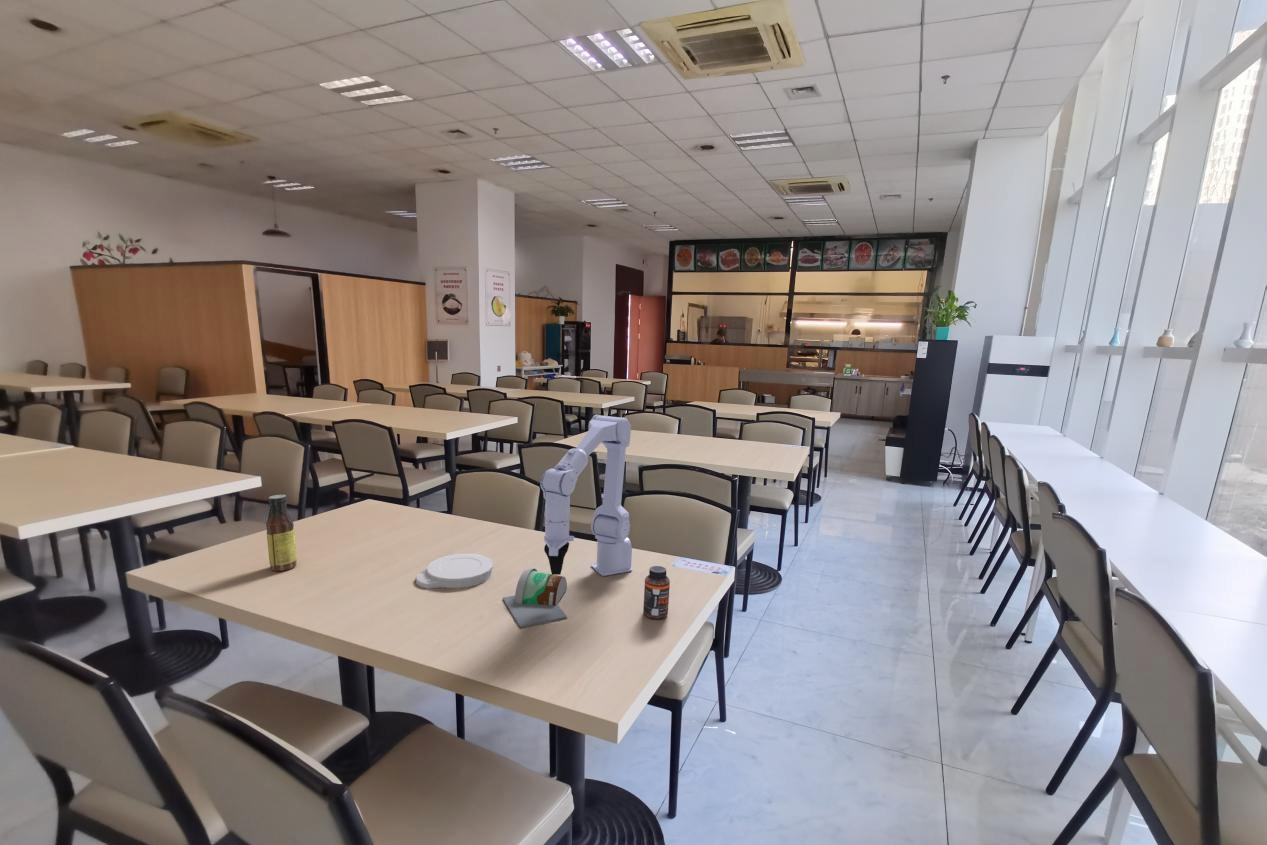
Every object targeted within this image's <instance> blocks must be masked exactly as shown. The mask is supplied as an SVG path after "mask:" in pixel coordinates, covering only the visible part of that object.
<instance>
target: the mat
mask: <svg viewBox="0 0 1267 845" xmlns="http://www.w3.org/2000/svg"><path fill="white" fill-rule="evenodd" d="M502 601H503V603H504V604H505V606H506V607H507V608H508V610H509V612H510V614H511V615H512V617H513V618H514V620H515V622H516V623H517V625H518V627H519V629H522V628H527V627H531V626H536V625H542V624H546V623H550V622H555V621H560V620H565V618H566V619H567V618H568V616H567V614H566V613H565V612H564V611H563V609H562V608H561V607H560V605H558V603H557V604H556V606H554V605H539V604H525V603H522V605H521V604H517V603H515V594H514V595H509V596H504V597H502Z"/></svg>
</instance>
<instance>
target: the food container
mask: <svg viewBox="0 0 1267 845" xmlns="http://www.w3.org/2000/svg"><path fill="white" fill-rule="evenodd" d="M518 578H519V579H518V581H517V584H516V588H515V592H514V595H515V603H517V604H521V605H522V603H525V604H539V605H554V606H556V604H558V602H559V601H560V600H561V599H562V598H563V596H564V594H565V593H566V592H567V589H568V585H567V584H568V583H567V578H566V577H565V576H562V575H553V574H552V573H547V572H542V571H541V572H540V571H539V570H537V568H534V567H533V568H527V569H525V570H523V571H522V573H521V575H520V576H519V577H518Z"/></svg>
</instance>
